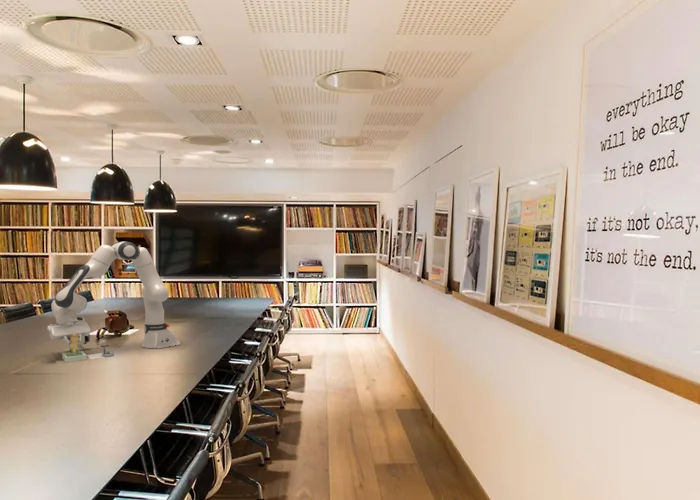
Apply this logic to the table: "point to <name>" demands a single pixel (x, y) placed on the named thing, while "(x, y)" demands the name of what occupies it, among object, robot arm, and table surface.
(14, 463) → the table surface
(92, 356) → the crank jig
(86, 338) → the pneumatic valve
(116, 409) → the table surface
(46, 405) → the table surface
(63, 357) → the tray
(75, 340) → the amber drinking glass
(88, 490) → the table surface
